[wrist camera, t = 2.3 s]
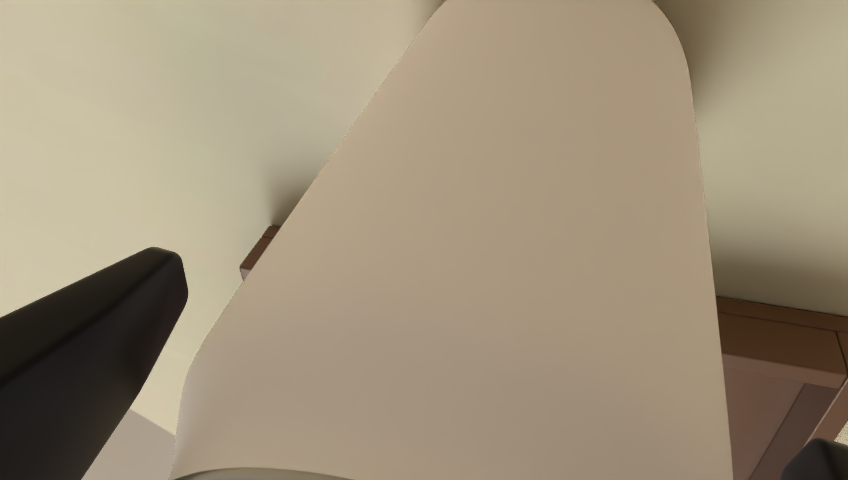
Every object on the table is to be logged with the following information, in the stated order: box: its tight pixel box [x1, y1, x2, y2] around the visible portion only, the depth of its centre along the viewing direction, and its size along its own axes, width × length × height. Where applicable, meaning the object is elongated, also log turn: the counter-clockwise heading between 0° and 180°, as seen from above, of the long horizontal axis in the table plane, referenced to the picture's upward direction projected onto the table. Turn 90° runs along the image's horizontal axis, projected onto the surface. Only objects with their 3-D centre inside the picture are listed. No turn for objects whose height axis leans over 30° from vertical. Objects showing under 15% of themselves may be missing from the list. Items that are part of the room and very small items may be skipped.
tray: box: [240, 226, 848, 480], centre depth 23 cm, size 17×15×2 cm
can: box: [168, 0, 733, 480], centre depth 11 cm, size 6×6×12 cm
